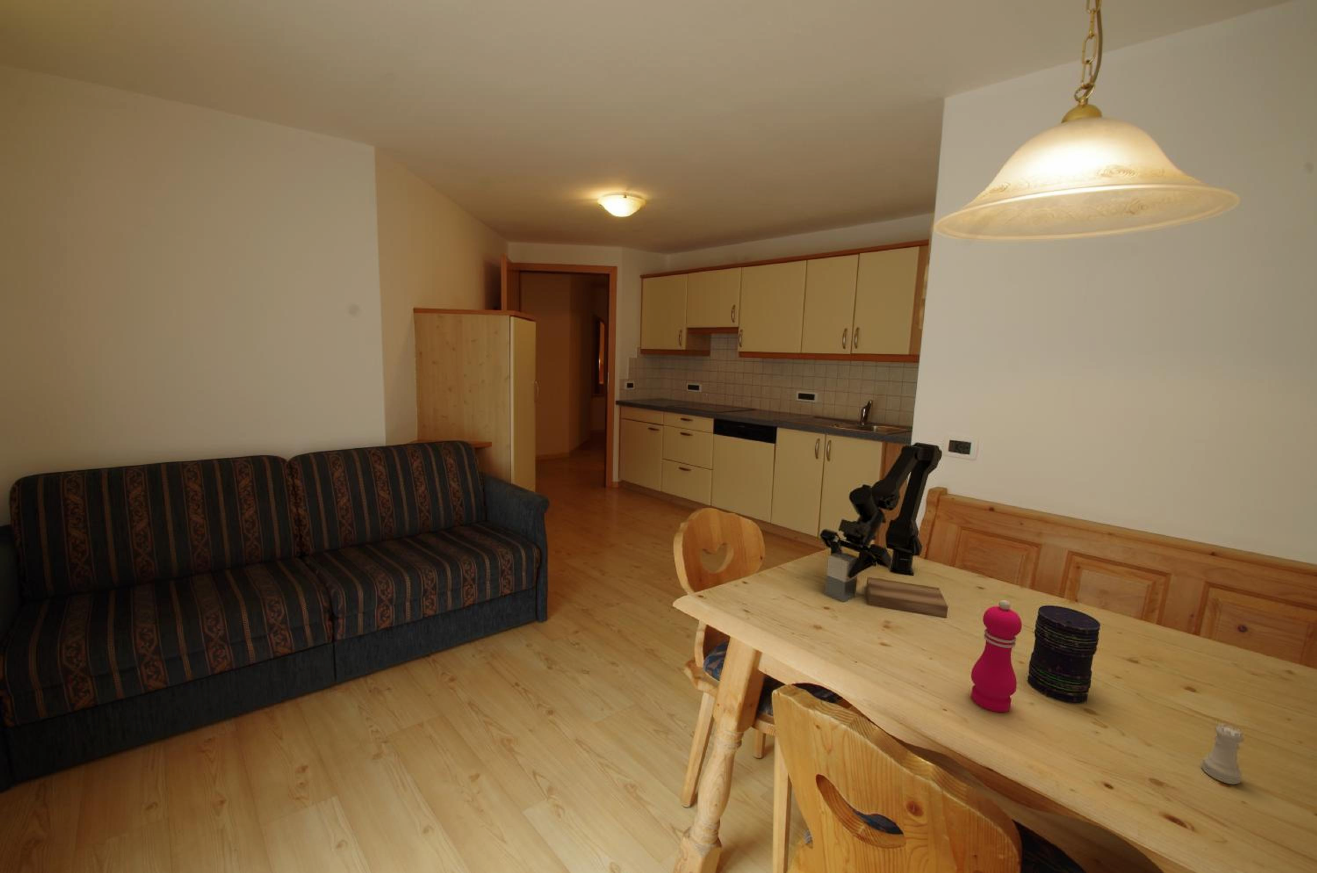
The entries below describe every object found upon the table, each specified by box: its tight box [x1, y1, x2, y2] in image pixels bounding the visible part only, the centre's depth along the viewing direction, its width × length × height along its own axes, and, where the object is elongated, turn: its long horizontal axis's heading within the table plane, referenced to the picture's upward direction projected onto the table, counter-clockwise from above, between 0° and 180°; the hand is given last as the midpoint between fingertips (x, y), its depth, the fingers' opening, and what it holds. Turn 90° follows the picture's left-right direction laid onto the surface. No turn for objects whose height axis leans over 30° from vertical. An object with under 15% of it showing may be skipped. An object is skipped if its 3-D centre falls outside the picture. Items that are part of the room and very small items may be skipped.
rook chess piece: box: [1200, 722, 1245, 785], centre depth 86 cm, size 4×4×8 cm
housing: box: [824, 550, 859, 603], centre depth 145 cm, size 6×6×11 cm
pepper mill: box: [970, 599, 1023, 713], centre depth 101 cm, size 7×7×20 cm
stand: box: [865, 576, 949, 619], centre depth 144 cm, size 12×18×3 cm, turn 73°
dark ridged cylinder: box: [1026, 604, 1101, 705], centre depth 107 cm, size 10×10×15 cm
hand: (839, 573), depth 144 cm, fingers closed on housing, 5 cm apart
